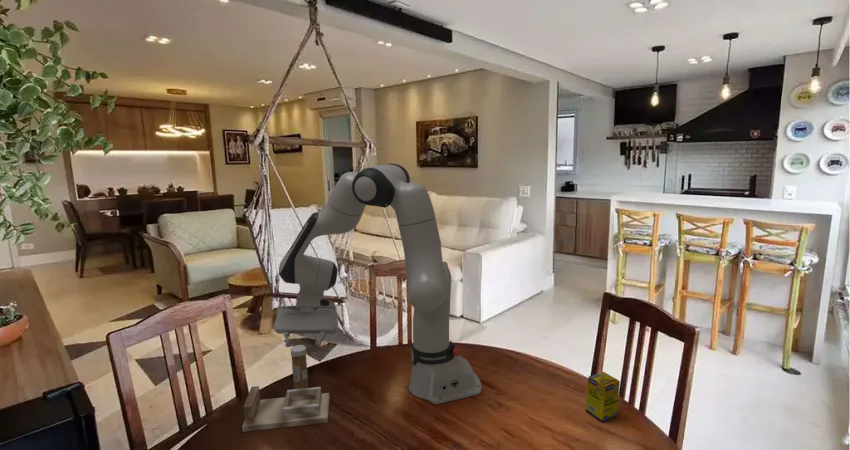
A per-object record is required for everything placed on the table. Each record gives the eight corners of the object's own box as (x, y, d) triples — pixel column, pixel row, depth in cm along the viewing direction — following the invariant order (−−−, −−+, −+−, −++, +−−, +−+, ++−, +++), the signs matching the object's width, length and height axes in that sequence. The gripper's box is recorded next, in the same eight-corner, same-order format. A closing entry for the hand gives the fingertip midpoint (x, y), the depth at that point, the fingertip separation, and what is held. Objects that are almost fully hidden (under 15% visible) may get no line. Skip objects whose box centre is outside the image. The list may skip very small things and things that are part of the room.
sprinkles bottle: (310, 388, 136) (308, 348, 133) (296, 393, 133) (293, 352, 131) (305, 382, 140) (303, 342, 137) (291, 386, 137) (288, 346, 135)
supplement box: (602, 423, 118) (605, 386, 116) (585, 411, 123) (587, 375, 121) (617, 416, 121) (620, 380, 119) (600, 405, 126) (602, 370, 124)
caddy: (329, 397, 131) (328, 377, 130) (327, 422, 120) (326, 400, 118) (252, 405, 128) (250, 384, 126) (242, 431, 116) (240, 409, 115)
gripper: (275, 301, 144) (267, 343, 136) (337, 301, 144) (332, 342, 136) (281, 309, 149) (273, 349, 142) (341, 309, 149) (336, 349, 141)
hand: (302, 346), depth 139 cm, fingers open, 8 cm apart
